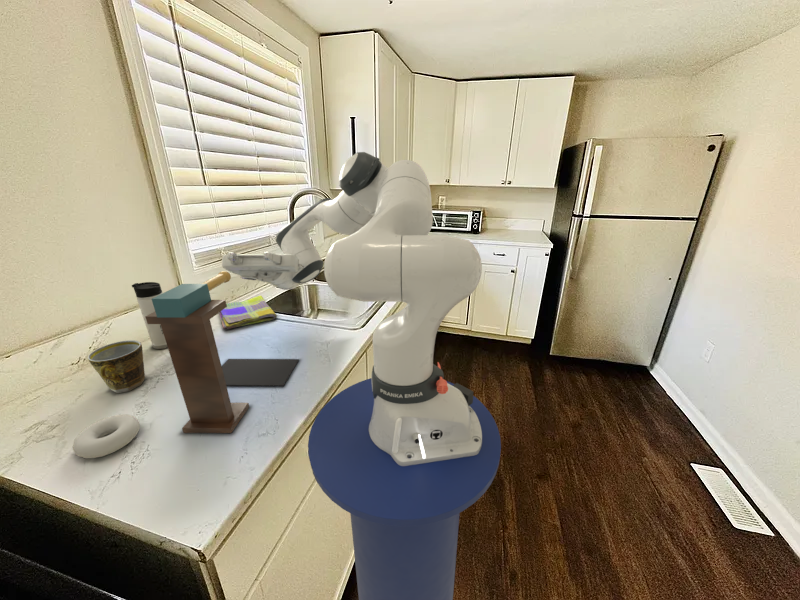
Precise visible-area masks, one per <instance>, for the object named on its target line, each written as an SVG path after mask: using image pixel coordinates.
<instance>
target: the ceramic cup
mask: <svg viewBox="0 0 800 600" xmlns="http://www.w3.org/2000/svg"><path fill="white" fill-rule="evenodd" d="M87 360H88V362H89V363H90V365H91V366H92V368H93V369H94V371H96V372H97V373H98V375H99V376H100V378H101V379H102V380H103V382H104V383H105V384H106V386H107V388H109V390H110V391H111V392H114V393H116V394H121V393H126V392H131V391H132V390H134V389H136V388H138V387H140V386H142V385H143V383H144V381H145V380H146V374H145V365H144V364H145V363H144V350H143V346H142V342H141V341H139V340H131V339H129V340H122V341H121V340H120V341H116V342H112V343H109V344H106V345H103V346H101V347H98V348H97V349H95V350H94V351H92V352H90V353H89V354H88V356H87Z"/></svg>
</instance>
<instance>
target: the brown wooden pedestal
mask: <svg viewBox="0 0 800 600" xmlns="http://www.w3.org/2000/svg"><path fill="white" fill-rule="evenodd" d="M226 304H227V301H226V299H211V301H210V302H208V303H207V304H205V305H204V306H202V307H201V308H199V309H198V310H196V311H194V312H193V313H191V314H190V315H188V316H187V317H167V318H158V317H157V315H156V312H153V313H151V314H149V315H147V316H145V317H146V320H147V323H148V324H161V327H162V331H163V334H164V337H165V340H166V343H167V347H168V348H167V350H168V354H169V356H170V359H171V362H172V365H173V369H174V373H175V375H176V379H177V381H178V385H179V388H180V391H181V394H182V397H183V400H184V404H185V407H186V410H187V414H188V417H189V419H188V421H187V422H186V423H185V424H184V425H183V426H182V428H181V430H182V432H183V434H232V433H233V432H234V431H235V429H236V427H237V426H238V425H239V423H240V422H241V420H242V418H243V417H244V416H245V414H246V413H247V411H248V410H249V408H250V404H249V403H250V402H231V399H230V395H229V391H228V386H226V382H225V378H224V374H223V370H222V362H221V359H220V354H219V351H218V350H219V349H218V347H217V343H216V339H215V334H214V331H213V326H212V321H211V319H212V318H214V317H215V316H217V315H218V314H220V311H222V310H223V309H224V308H226V307H227V305H226Z"/></svg>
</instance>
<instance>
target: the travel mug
mask: <svg viewBox="0 0 800 600" xmlns="http://www.w3.org/2000/svg"><path fill="white" fill-rule="evenodd" d="M131 288H132V289H133V291H134V294H135V298H136V300H137V303H138V306H139V309H140V312H141V316H142V318H143V321H144V324H145V328H146V330H147V334H148V337H149V339H150V342H151V345H152V348H153V349H154V350H155V349H156V350H162V349H163V350H164V349H168V347H167V343H166V340H165V337H164V334H163V331H162V327H161V324H148V323H147V320H146V317H145V316H147V315H149V314H151V313H153V312H155V309H154V306H153V303H152V298H154V297H156V296H158V295H160V294H162V293H164V292H163V290H162V287H161V284H160V283H159V282H155V281H145V282H136V283H133V284H131Z"/></svg>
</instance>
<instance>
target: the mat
mask: <svg viewBox="0 0 800 600" xmlns="http://www.w3.org/2000/svg"><path fill="white" fill-rule="evenodd" d="M298 362H299V358H228V359H227V360H226V361H225V362H224V363H223V364H221V366H222V370H223V374H224V378H225V382H226V386H227V387H280V388H281V387H285V385H286V383H287V381H288V379H290V376H291V375H292V373H293V371H294V369H295V368H296V366H297V365H298Z"/></svg>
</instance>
